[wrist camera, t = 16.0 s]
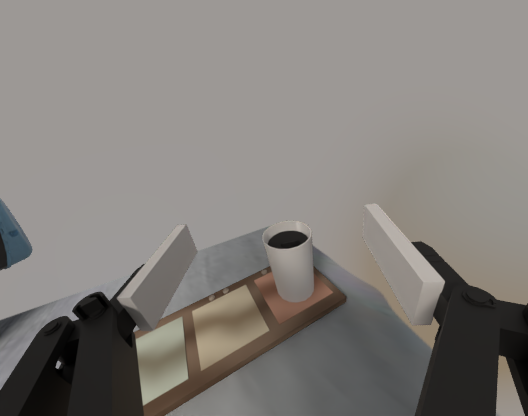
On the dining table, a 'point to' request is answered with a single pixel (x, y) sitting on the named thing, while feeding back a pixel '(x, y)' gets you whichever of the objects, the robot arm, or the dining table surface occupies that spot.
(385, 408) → the dining table surface
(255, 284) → the tile board
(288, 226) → the white coffee cup
